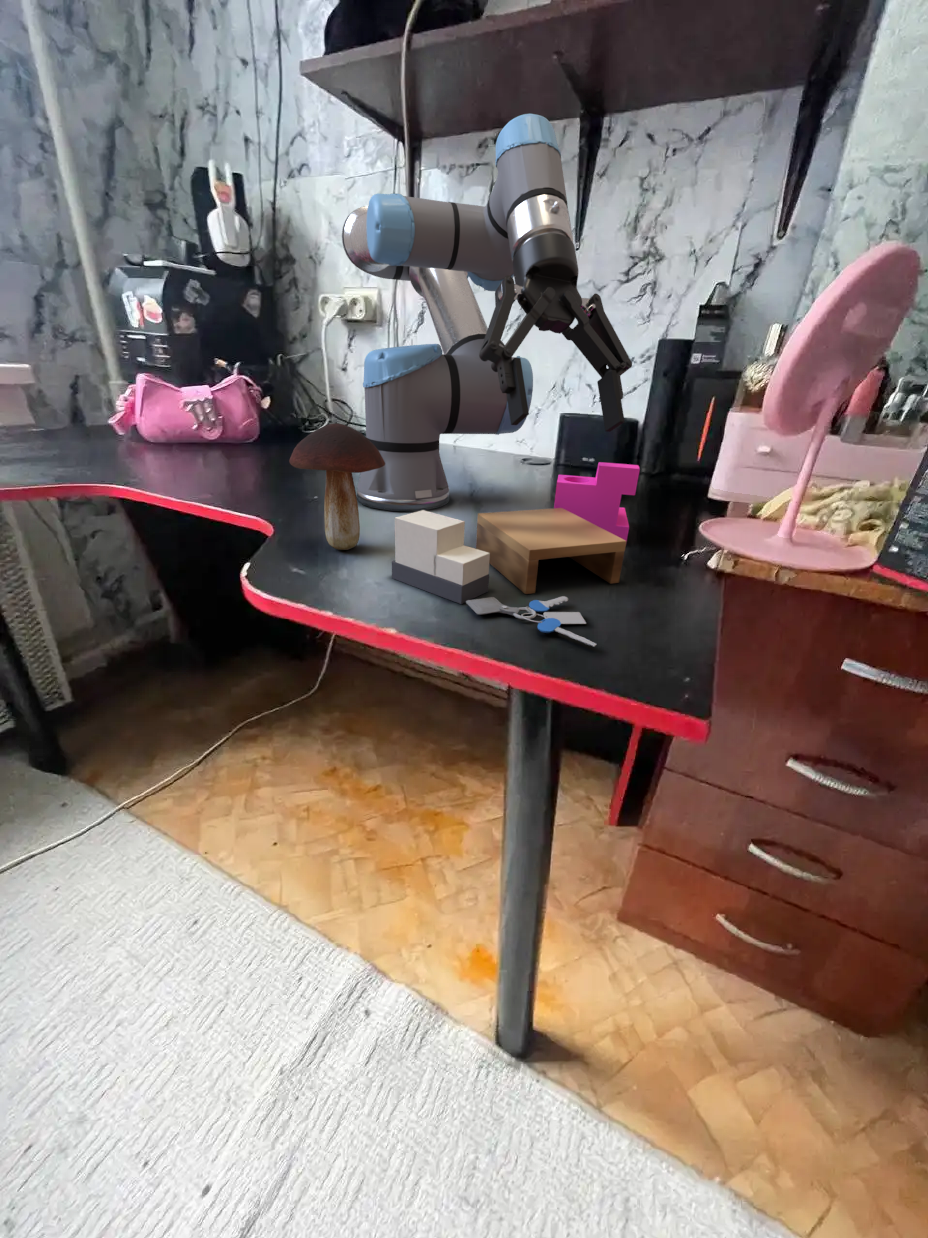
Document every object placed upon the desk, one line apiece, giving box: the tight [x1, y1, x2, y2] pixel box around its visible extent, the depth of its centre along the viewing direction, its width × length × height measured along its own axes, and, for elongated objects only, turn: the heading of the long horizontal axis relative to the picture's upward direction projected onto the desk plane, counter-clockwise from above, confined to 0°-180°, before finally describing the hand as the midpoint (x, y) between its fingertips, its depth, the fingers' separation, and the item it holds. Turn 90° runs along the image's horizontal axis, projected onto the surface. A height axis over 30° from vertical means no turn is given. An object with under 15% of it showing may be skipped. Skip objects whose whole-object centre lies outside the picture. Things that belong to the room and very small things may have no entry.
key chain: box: [465, 595, 597, 648], centre depth 53 cm, size 14×8×1 cm, turn 60°
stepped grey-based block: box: [391, 510, 490, 605], centre depth 58 cm, size 10×5×7 cm, turn 51°
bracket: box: [553, 461, 641, 543], centre depth 78 cm, size 12×10×10 cm
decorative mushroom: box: [288, 422, 385, 551], centre depth 65 cm, size 11×11×15 cm
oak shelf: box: [475, 507, 627, 595], centre depth 65 cm, size 14×12×5 cm
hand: (569, 423), depth 64 cm, fingers open, 13 cm apart
